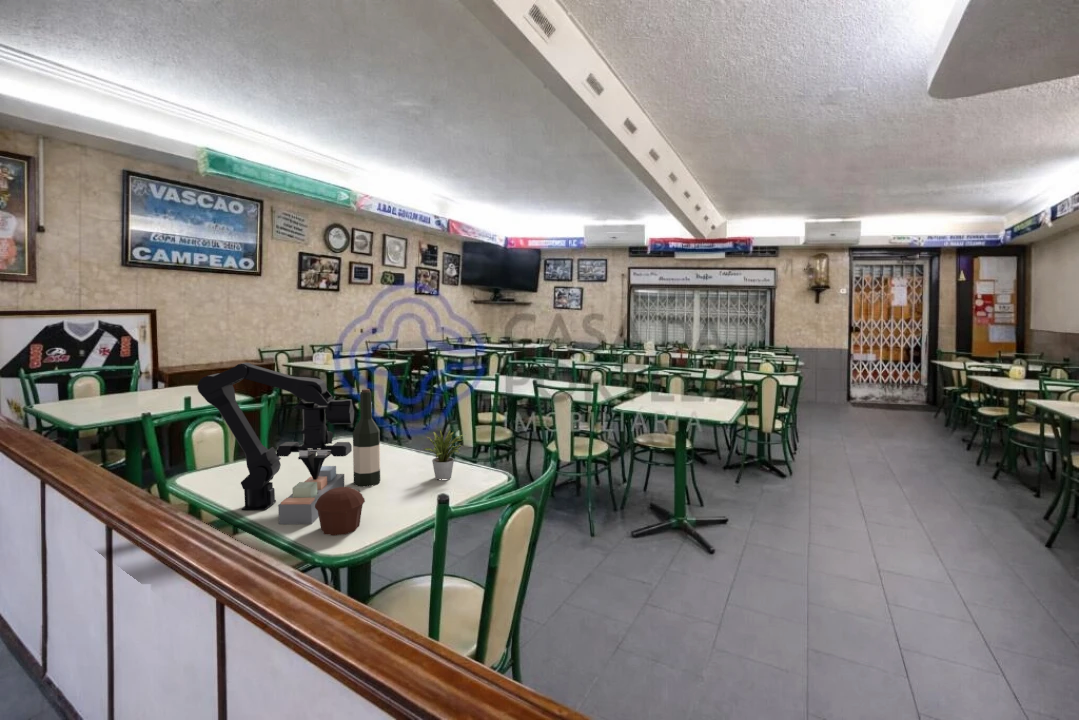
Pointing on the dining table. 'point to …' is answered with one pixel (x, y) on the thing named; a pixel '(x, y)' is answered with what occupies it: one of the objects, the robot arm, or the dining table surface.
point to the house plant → (443, 455)
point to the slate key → (328, 472)
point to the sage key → (305, 490)
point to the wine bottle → (366, 445)
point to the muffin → (340, 510)
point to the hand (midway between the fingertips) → (315, 479)
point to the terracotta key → (319, 481)
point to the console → (305, 505)
